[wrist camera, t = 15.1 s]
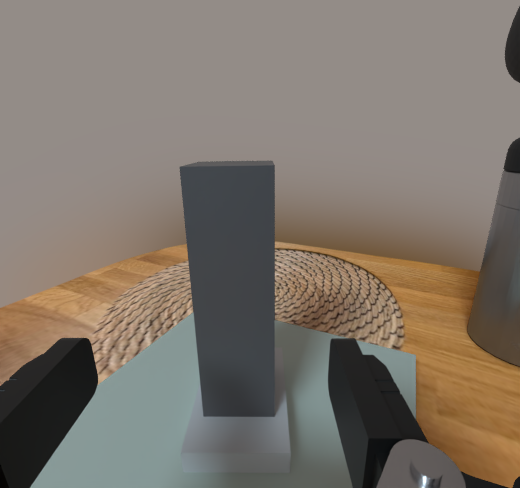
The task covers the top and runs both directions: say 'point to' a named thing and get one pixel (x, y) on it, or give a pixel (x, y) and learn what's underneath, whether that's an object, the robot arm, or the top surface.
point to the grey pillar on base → (234, 320)
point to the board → (179, 412)
